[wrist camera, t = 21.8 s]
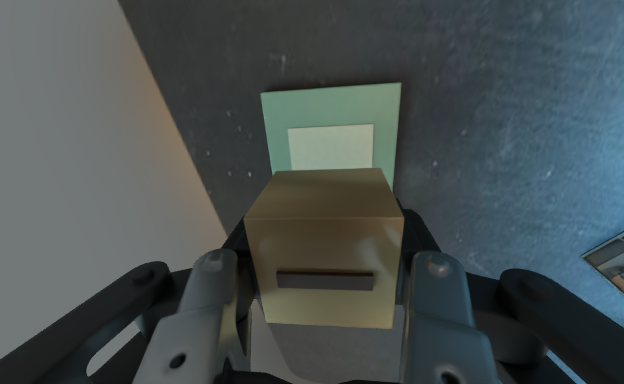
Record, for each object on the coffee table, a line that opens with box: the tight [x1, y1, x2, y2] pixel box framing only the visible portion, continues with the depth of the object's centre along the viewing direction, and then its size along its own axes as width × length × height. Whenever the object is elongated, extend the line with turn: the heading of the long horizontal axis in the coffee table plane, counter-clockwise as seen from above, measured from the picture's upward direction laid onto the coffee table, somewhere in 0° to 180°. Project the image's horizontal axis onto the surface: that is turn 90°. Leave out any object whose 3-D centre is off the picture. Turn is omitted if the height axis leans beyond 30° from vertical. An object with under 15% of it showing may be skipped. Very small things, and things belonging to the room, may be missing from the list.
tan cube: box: [243, 168, 404, 329], centre depth 9 cm, size 4×4×4 cm
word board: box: [260, 82, 401, 191], centre depth 19 cm, size 9×18×1 cm, turn 4°
